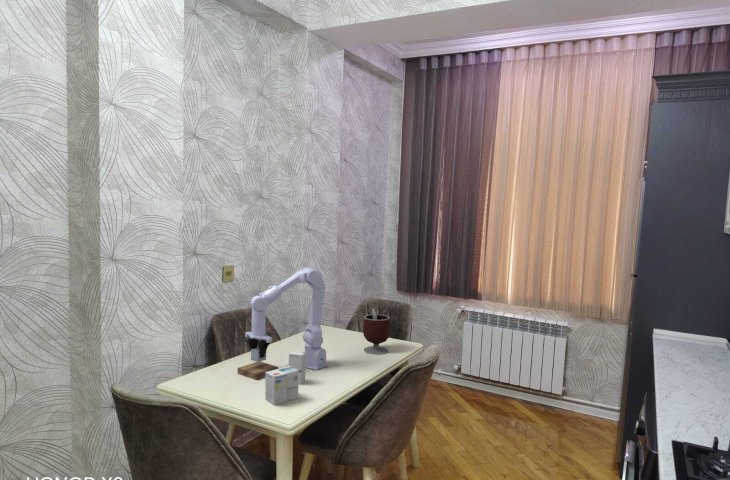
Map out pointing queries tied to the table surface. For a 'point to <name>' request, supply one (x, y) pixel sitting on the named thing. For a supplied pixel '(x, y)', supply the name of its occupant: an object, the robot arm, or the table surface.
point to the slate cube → (256, 355)
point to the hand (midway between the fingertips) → (258, 356)
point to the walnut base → (256, 370)
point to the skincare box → (298, 364)
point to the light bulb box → (281, 385)
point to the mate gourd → (376, 332)
